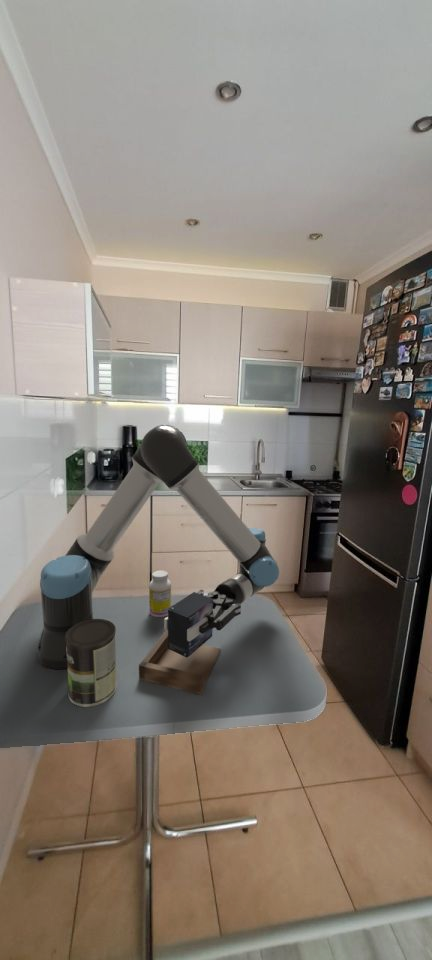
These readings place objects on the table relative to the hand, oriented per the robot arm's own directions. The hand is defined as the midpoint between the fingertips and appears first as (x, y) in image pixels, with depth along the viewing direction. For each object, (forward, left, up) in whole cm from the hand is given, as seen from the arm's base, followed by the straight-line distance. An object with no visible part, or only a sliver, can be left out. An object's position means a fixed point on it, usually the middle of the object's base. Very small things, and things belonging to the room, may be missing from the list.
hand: (176, 629), depth 84 cm
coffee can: (-15, -10, -12) cm, 22 cm away
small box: (+2, +5, -6) cm, 8 cm away
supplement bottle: (-15, +24, -12) cm, 31 cm away
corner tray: (0, +4, -11) cm, 12 cm away
